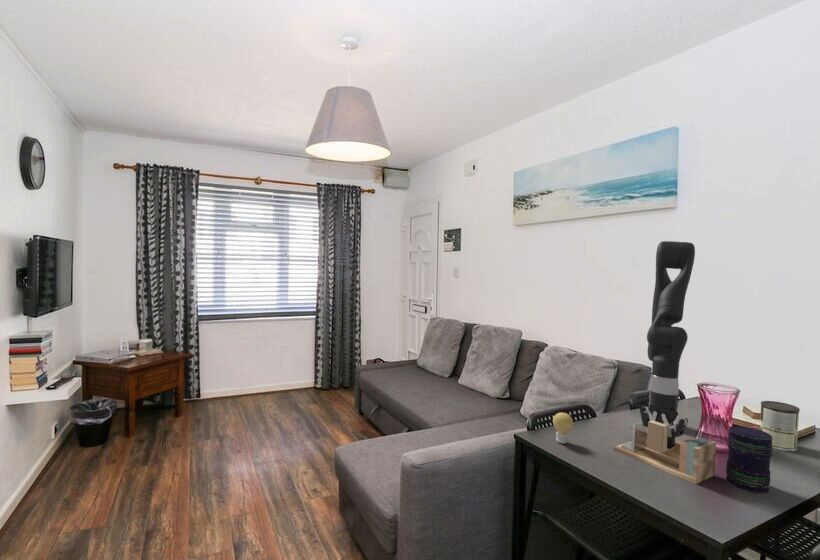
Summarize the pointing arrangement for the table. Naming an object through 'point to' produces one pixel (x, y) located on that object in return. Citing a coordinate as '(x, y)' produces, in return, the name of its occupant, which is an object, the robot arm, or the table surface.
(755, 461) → the storage jar
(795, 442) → the coffee can
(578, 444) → the table surface
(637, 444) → the bookend
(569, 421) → the light bulb
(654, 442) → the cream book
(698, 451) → the rack
